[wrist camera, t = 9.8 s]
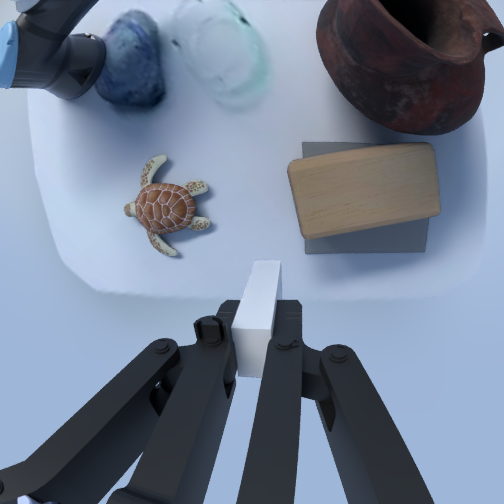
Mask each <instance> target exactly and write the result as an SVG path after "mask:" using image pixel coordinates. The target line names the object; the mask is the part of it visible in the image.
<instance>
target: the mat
mask: <svg viewBox="0 0 504 504" xmlns="http://www.w3.org/2000/svg"><path fill="white" fill-rule="evenodd" d="M379 145H385V144H370V143H347V142H302V149H303V158H307V157H312V156H317V155H323V154H328V153H334V152H340V151H346V150H352V149H358V148H365V147H372V146H379ZM428 221H429V217H428V218H423V219H417V220H412V221H407V222H401V223H396V224H391V225H385V226H380V227H375V228H369V229H364V230H359V231H353V232H348V233H343V234H338V235H332V236H327V237H322V238H316V239H311V240H309V239H305V253H401V252H425V246H426V238H427V230H428Z"/></svg>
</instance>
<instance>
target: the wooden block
mask: <svg viewBox="0 0 504 504" xmlns="http://www.w3.org/2000/svg"><path fill="white" fill-rule="evenodd" d="M287 173H288V178H289V182H290V186H291V190H292V195H293V199H294V203H295V208H296V212H297V217H298V222H299V226H300V231H301V234H302V236H303V237H304V239H309V240H311V239H316V238H322V237H327V236H332V235H338V234H343V233H348V232H353V231H359V230H364V229H369V228H375V227H380V226H385V225H391V224H396V223H401V222H407V221H412V220H417V219H423V218H428V217H434V216H437V215H438V214H440V211H441V206H440V193H439V183H438V174H437V166H436V159H435V153H434V149H433V146H432V145H431V144H429V143H426V142H404V143H395V144H387V145H379V146H372V147H365V148H358V149H352V150H346V151H340V152H334V153H328V154H323V155H317V156H312V157H307V158H302V159H297V160H293V161H292V162H290V163H289V165H288V170H287Z"/></svg>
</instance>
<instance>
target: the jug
mask: <svg viewBox="0 0 504 504" xmlns="http://www.w3.org/2000/svg"><path fill="white" fill-rule="evenodd" d="M485 33H489V34H488V35H487V36H484V35H483V34H485ZM316 40H317V45H318V49H319V53H320V56H321V59H322V61H323V64H324V66H325V68H326V70H327V71H328V73H329V75H330V76H331V78H332V80H333V81H334V83H335V85H336V86H337V88H338V89H339V91H340V92H341V93H342V94H343V96H344V97H345V98H346V99H347V100H348V101H349V102H350V103H351V104H352V105H353V106H354V107H355V108H356V109H358V110H359V111H360V112H361V113H363V114H364V115H365V116H366V117H368V118H370V119H371V120H373V121H375V122H377V123H379V124H381V125H383V126H385V127H387V128H390V129H392V130H394V131H398V132H401V133H407V134H415V135H441V134H445V133H448V132H451V131H454V130H456V129H457V128H459V127H460V126H462V125H463V124H465V123H466V122H468V121H469V120H470V119H471V118H472V117H473V116H474V114H475V113H476V111H477V109H478V107H479V105H480V103H481V100H482V97H483V92H484V84H485V67H484V55H485V54H486V53H487V52H490V51H492V50H495V49H497V48H500V47H502V46H504V28H503V26H502V24H501V22H500V21H499V19H498V17H497V16H496V14H495V13H494V11H493V9H492V8H491V7H490V6H489V4H488V3H487V1H486V0H328V1H327V2H326V3H325V5H324V7H323V9H322V10H321V12H320V15H319V18H318V22H317V29H316Z"/></svg>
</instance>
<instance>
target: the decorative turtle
mask: <svg viewBox="0 0 504 504" xmlns="http://www.w3.org/2000/svg"><path fill="white" fill-rule="evenodd" d="M166 160H167V155H165V154H163V155H158V156H155V157H153V158H152V159H151V160H149V161H148V162H147V164H146V165H145V167H144V168H143V171H142V175H141V188H142V190H141V192H140V193H139V195H138V197H137V199H136V201H135V202H131V203H129V204H126V205H125V207H124V212H125V215H126V216H128V217H137V219H138V221H139V222H140V223H141V224H142V225H143V226H144V228H145V229H146V230H147V235H148V238H149V240H150V242H151V244H152V245H153V247H154V248H156V249H157V250H158V251H160V252H161V253H163V254H165V255H169V256H177V251H176V250H175V249H173V248H171V247H170V246H168V245H167V244H166V243H165V242H164V241H163V240H162V239H161V238H160V236H159V235H158V234H165V233H172V232H174V231H179V230H182V229H184V228H186V227H188V228H190V229H192V230H196V231H200V230H204V229H207V228H208V227H209V226H210V224H211V221H210V219H207V218H204V217H197V216H194V214H195V212H196V204H195V201H194V199H193V198H192V197H193V196H196V195H200V194H203V193H205V192H207V191H208V186H207V184H206V183H204V182H203V181H199V180H192V181H189V182H187V183H186V184H184V185H183V186H182V187H180V186H178V185H174V184H166V183H164V184H162V183H154V184H152V178H153V176H154V174H155V173H156V171H157V170H158V168H159V167H160V166H161V165H162V164H163V163H164V162H166Z"/></svg>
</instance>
